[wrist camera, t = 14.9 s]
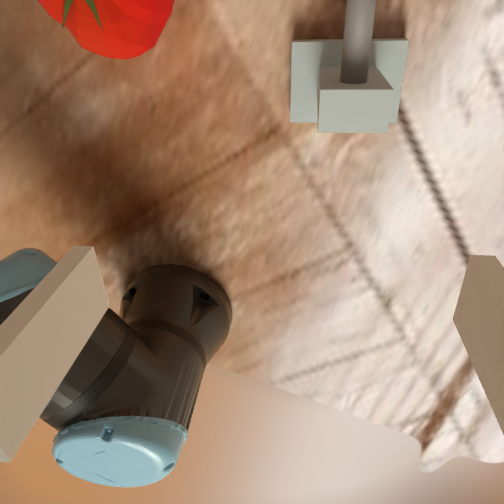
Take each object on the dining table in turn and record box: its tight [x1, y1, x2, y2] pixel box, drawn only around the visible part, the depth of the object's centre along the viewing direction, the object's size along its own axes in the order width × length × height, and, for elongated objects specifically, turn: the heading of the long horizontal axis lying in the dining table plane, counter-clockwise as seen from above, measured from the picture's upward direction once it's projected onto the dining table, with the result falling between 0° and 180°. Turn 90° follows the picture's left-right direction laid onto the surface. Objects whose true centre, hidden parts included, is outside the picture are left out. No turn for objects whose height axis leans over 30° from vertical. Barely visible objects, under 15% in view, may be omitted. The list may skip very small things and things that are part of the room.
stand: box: [290, 0, 409, 133], centre depth 32 cm, size 16×10×12 cm, turn 2°
